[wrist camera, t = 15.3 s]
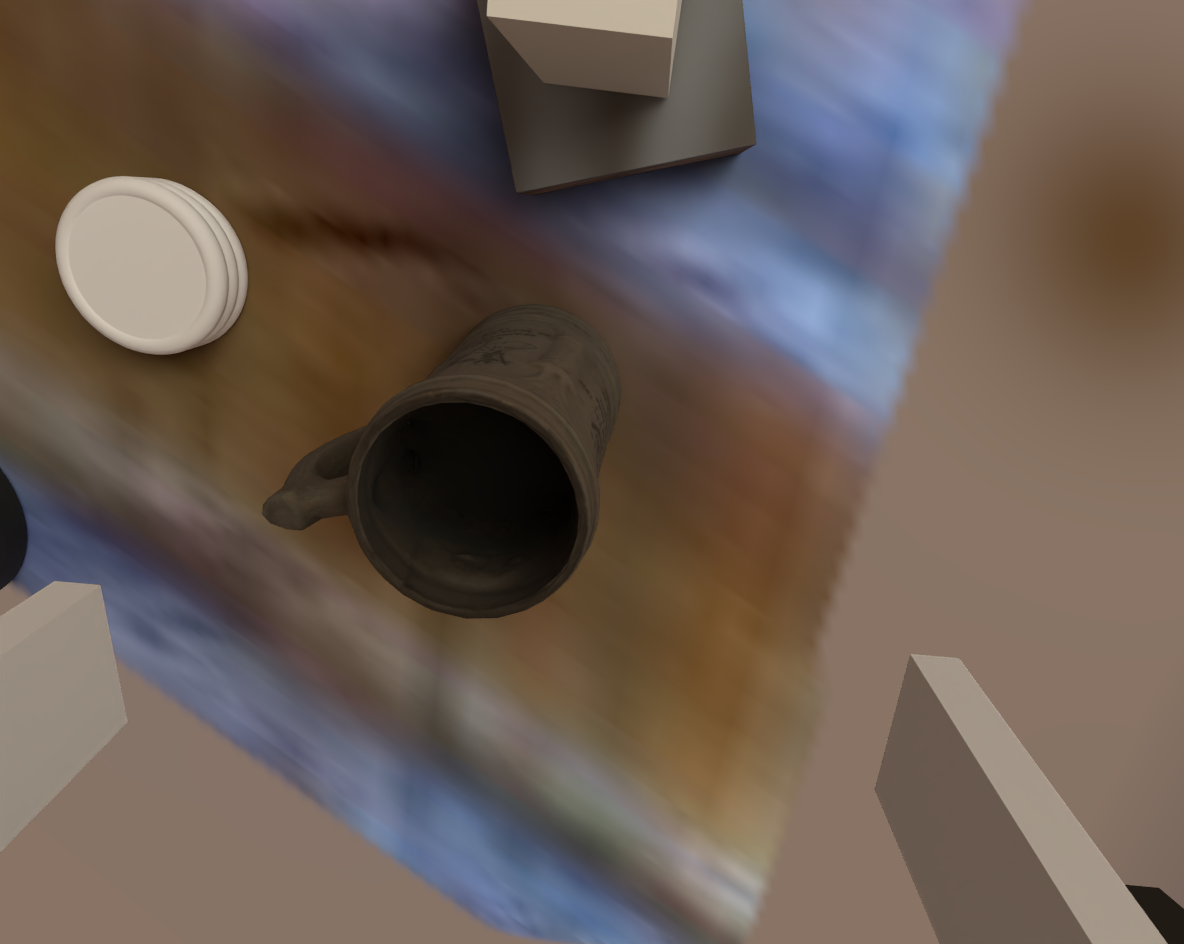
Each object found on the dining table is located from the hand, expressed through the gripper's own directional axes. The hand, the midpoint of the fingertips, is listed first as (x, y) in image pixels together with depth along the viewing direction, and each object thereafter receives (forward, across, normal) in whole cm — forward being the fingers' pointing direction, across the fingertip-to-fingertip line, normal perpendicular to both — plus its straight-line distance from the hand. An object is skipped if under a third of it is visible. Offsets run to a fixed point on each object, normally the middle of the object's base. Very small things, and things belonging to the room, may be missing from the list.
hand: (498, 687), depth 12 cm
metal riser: (+35, 0, +15) cm, 38 cm away
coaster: (+35, -26, +2) cm, 44 cm away
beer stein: (+34, -6, -4) cm, 35 cm away
